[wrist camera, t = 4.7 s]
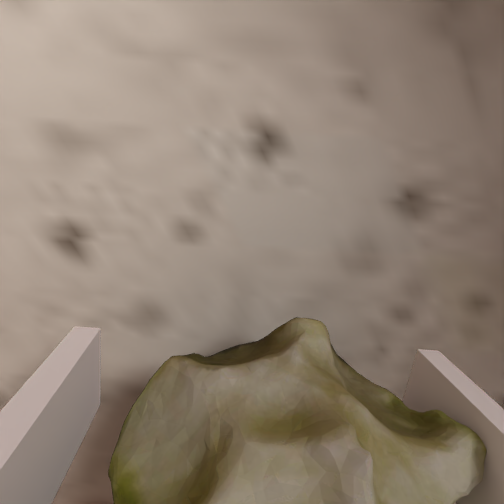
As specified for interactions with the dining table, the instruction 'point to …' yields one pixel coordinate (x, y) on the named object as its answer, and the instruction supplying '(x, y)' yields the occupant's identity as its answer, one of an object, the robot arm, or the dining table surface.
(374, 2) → the dining table surface
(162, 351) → the dining table surface
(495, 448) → the robot arm
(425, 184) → the dining table surface
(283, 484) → the fruit
